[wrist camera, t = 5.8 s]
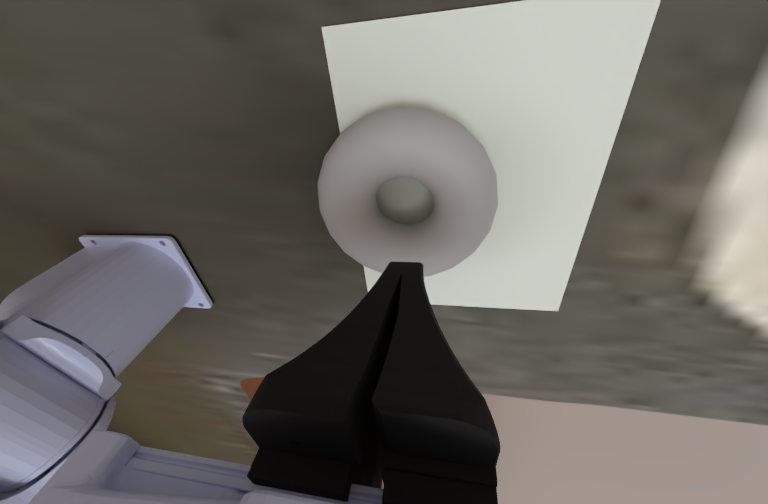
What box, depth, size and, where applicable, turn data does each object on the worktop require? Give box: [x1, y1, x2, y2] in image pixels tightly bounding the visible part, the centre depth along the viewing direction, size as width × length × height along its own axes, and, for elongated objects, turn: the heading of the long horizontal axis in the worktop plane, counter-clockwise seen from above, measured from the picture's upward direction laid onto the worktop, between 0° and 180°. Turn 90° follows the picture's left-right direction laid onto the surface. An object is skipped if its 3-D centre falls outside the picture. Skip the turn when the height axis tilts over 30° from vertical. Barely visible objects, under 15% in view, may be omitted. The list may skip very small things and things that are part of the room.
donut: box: [317, 107, 498, 276], centre depth 17 cm, size 10×3×10 cm
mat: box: [321, 0, 661, 311], centre depth 18 cm, size 14×18×1 cm
